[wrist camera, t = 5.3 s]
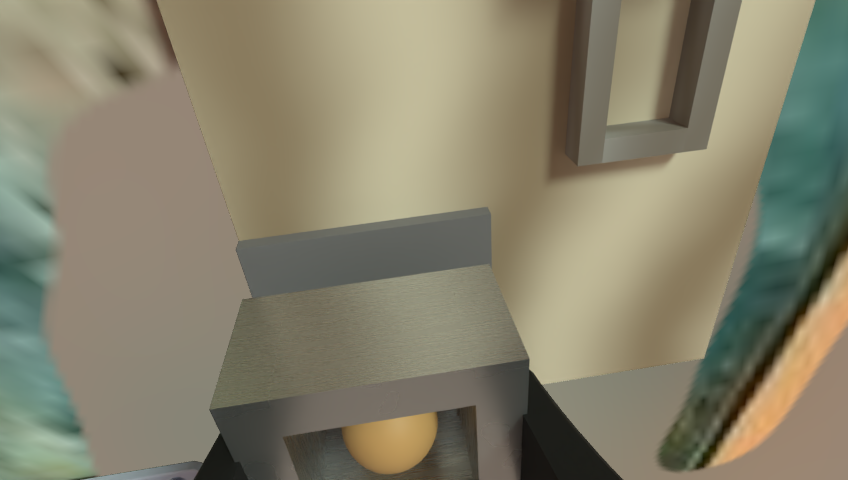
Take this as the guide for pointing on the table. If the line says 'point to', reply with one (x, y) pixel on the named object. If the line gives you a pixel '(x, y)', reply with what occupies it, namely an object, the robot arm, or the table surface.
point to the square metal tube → (376, 377)
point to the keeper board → (510, 143)
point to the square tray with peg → (367, 261)
